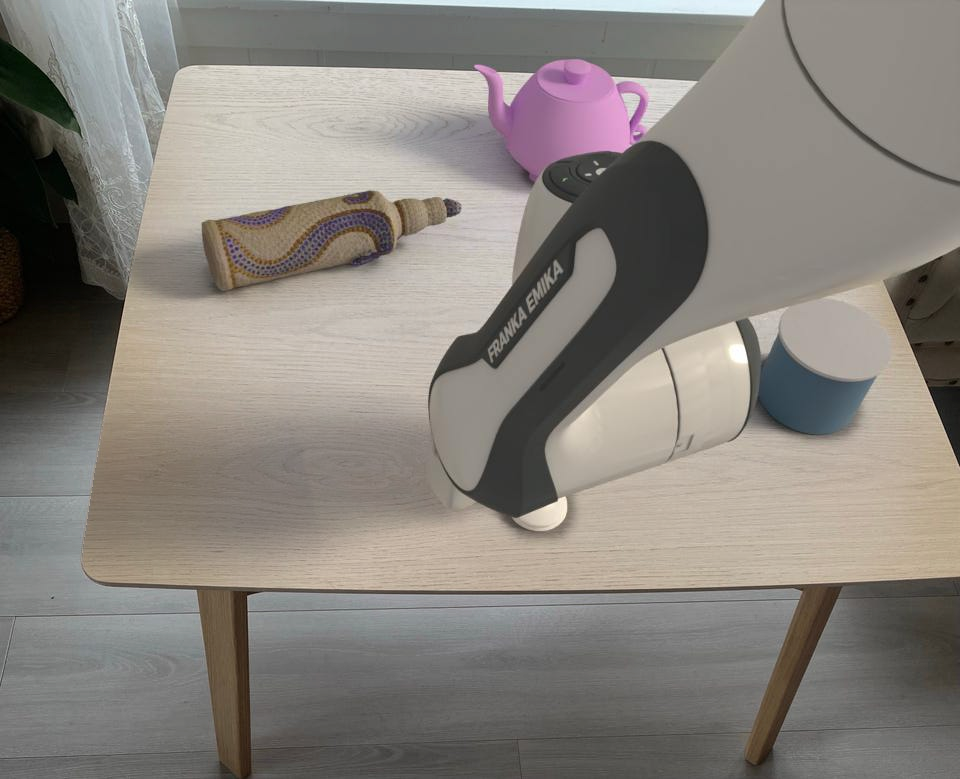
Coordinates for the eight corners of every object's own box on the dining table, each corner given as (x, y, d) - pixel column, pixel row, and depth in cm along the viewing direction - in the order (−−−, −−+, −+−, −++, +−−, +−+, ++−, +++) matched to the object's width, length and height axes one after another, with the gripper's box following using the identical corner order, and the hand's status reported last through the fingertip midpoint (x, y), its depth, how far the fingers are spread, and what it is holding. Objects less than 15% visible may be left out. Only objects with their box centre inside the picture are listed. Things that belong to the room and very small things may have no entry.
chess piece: (499, 488, 79) (510, 412, 71) (554, 475, 80) (571, 399, 72) (518, 537, 76) (531, 463, 68) (575, 523, 77) (595, 449, 69)
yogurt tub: (871, 438, 85) (908, 379, 79) (767, 437, 84) (796, 378, 78) (840, 358, 91) (872, 298, 85) (743, 357, 90) (768, 296, 84)
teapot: (471, 199, 103) (478, 100, 94) (464, 123, 112) (470, 27, 103) (651, 201, 105) (675, 104, 96) (629, 126, 114) (650, 32, 105)
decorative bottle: (221, 310, 90) (211, 256, 85) (205, 259, 94) (194, 205, 89) (474, 254, 97) (478, 201, 92) (447, 209, 102) (450, 157, 97)
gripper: (461, 457, 59) (451, 569, 69) (707, 340, 67) (665, 457, 77) (410, 389, 62) (408, 507, 73) (651, 286, 70) (618, 405, 81)
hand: (542, 480), depth 75 cm, fingers closed on chess piece
